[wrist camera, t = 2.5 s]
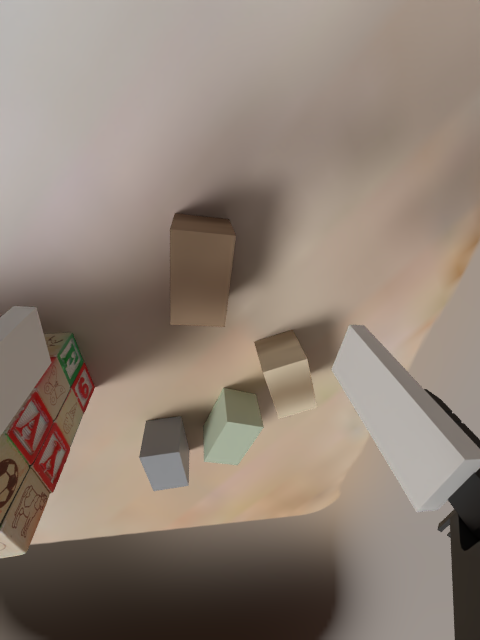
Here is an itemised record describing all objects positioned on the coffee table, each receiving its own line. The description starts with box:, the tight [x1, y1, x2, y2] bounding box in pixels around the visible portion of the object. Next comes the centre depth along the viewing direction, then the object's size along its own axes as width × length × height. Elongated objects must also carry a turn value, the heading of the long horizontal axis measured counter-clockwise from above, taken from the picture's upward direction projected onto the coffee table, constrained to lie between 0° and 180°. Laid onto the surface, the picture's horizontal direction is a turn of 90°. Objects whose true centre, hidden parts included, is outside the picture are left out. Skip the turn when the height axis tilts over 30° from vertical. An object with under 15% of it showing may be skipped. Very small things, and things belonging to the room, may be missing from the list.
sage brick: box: [203, 388, 264, 465], centre depth 27 cm, size 6×4×4 cm, turn 157°
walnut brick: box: [170, 213, 236, 327], centre depth 18 cm, size 6×4×4 cm, turn 172°
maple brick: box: [254, 330, 317, 419], centre depth 24 cm, size 6×4×4 cm, turn 16°
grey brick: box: [139, 416, 189, 491], centre depth 28 cm, size 6×4×4 cm, turn 2°
